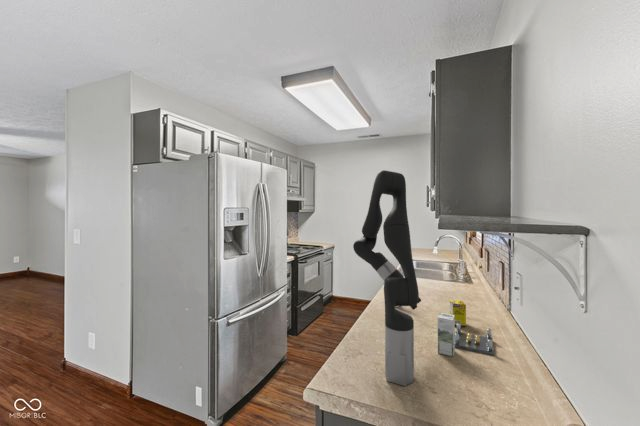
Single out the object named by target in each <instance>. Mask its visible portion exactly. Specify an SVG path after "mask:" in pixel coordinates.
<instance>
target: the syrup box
mask: <svg viewBox="0 0 640 426" xmlns="http://www.w3.org/2000/svg"><path fill="white" fill-rule="evenodd" d="M455 328H456V326H455V316H454V315H450V313H443V312H439V313H438V315H437V354H439V355H443V356H447V357H451V358H454V356H455V352H456V348H455V333H456V331H455V330H456V329H455Z"/></svg>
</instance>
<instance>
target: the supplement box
mask: <svg viewBox="0 0 640 426" xmlns="http://www.w3.org/2000/svg"><path fill="white" fill-rule="evenodd" d="M449 314H450V315H454V316H455V327H457V323H460V324H461V327H462V328H466V327H467V305H466V303H465V302H464V301H463V300H458V299H457V300H456V299H455V300H453V299H449Z"/></svg>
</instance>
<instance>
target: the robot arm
mask: <svg viewBox="0 0 640 426" xmlns="http://www.w3.org/2000/svg"><path fill="white" fill-rule="evenodd" d="M406 190H407V183H406V178H405V176H404V174H402V173H401V172H396V171H390V170H385V169H383V170H380V171H378V173H377V174H376V176H375V179H374V182H373V186H372V192H371V195H370V199H369V200H370V201H369V206H368V211H367V214H366V217H365V220H364V222H363V225H362V229H361V233H362V235H363V236H362V237H361V238H360V239H357V240H356V241H354V243H353V245H352V246H353V251H354V253H355V254H356V255H357V256H358V257H359V258H361V259H362V260H364V262H366V263H368V264H369V265H370V266H371V267H372V268H373V270H374V271H375V272H376V273H377V274H378V276H379V277H380V279H382V280H383V294H384V295H383V296H384V336H385V337H384V347H385V349H384V353H385V354H384V355H385V356H384V357H385V358H384V359H385V360H384V361H385V363H384V364H385V365H384V366H385V367H384V368H385V372H384V373H385V377H386V381H387V382H389V383H393V384H397V385H400V386H403V387H407V385H409V384H412V383H413V382H414V379H415V363H414V362H415V353H414V351H415V349H414V347H415V346H414V344H415V343H414V342H415V341H414V340H415V338H414V334H415V332H414V331H415V329H414V325H415V324H414V319H413V317H412V316H411V315H409V314H407V313H405V312H402V311H400V310H398V309H397V308H396V307H395V306H399V307H410V308H411V309H412V310H413V311H414V310H415V309H417V308H418V304H420V303H421V302H422V299H421V297H419V295H420V292H419V287H418V280H417V275H416V270H415V265H414V260H413V253H412V243H411V242H412V241H411V231H410V225H409V219H408V218H409V217H408V209H407V191H406ZM383 195H387V196H392V198H393V199H392V201H393V202H392V208H391V210H390V211H389V213H388V214H387V216H386V218H385V219H384V221H383V214H382V208H381V203H380V202H381V199H382V196H383ZM382 223H383V228H382V229H383V239H384V244H385V245H386V247H387V249H388V250H389V251H390V253H391V254H392V255H393V256H394V258H395V259H396V261H397V262H398V263H399V265H400V267H401V270H402V273H403V274H402V273H401V272H400V270H398V268H397V267H396V266H395V265H393V264H392V262H391V261H389V259H387V257H385V255H384V254H383V253H381V252H379V251H377V252H375V251H373V250H374V248H375V247H376V244H377V239H378V233H379V231H380V230H381V227H382ZM396 268H397V269H396Z"/></svg>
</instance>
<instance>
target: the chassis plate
mask: <svg viewBox="0 0 640 426" xmlns="http://www.w3.org/2000/svg"><path fill="white" fill-rule="evenodd" d="M455 349H460V350H465V351H470V352H474V353H479V354H484V355H488V356H494V354H495V353H494V341H493V337H492V328H486V336H483V335H480V334H473V333H469V332H463V331H462V330H461V324H460V323H457V326H456V331H455Z"/></svg>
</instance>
